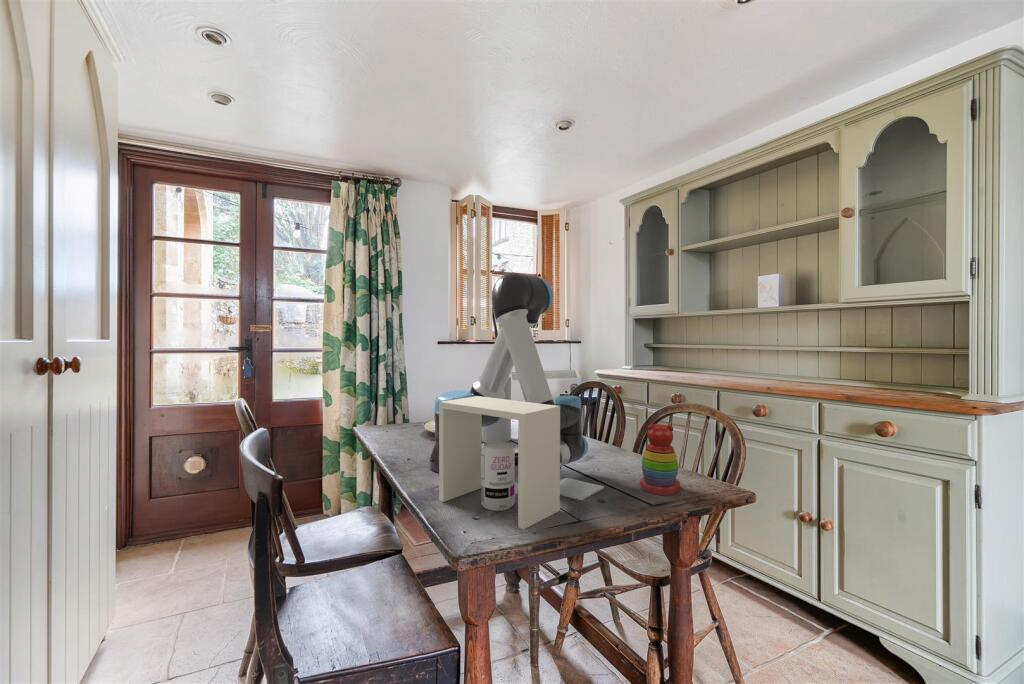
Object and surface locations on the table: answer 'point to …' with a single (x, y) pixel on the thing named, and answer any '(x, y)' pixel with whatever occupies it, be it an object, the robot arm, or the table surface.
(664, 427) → the stacking bear
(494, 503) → the supplement can
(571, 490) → the tile
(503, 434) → the cylinder vase
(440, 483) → the tunnel
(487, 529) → the table surface
